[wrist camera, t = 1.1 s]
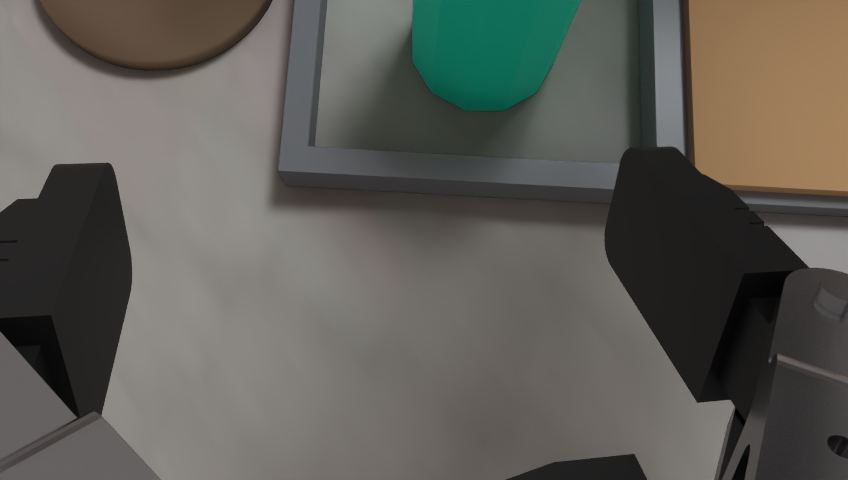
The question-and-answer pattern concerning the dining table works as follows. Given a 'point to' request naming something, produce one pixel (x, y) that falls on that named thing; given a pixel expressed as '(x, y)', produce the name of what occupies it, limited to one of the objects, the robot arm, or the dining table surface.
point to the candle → (487, 48)
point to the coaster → (155, 28)
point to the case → (643, 112)
